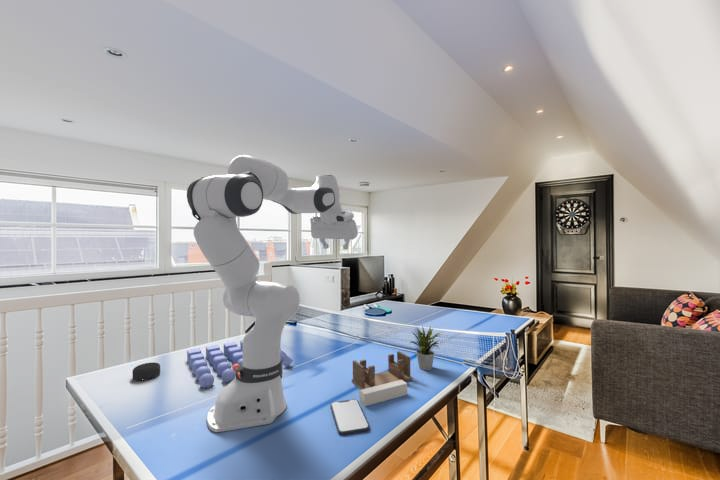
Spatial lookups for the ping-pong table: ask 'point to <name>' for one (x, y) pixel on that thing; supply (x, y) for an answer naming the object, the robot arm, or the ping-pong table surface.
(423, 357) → the house plant
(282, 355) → the blocks
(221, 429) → the robot arm
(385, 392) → the clay strip
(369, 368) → the rack
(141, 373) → the smart speaker
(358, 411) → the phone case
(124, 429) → the ping-pong table surface
